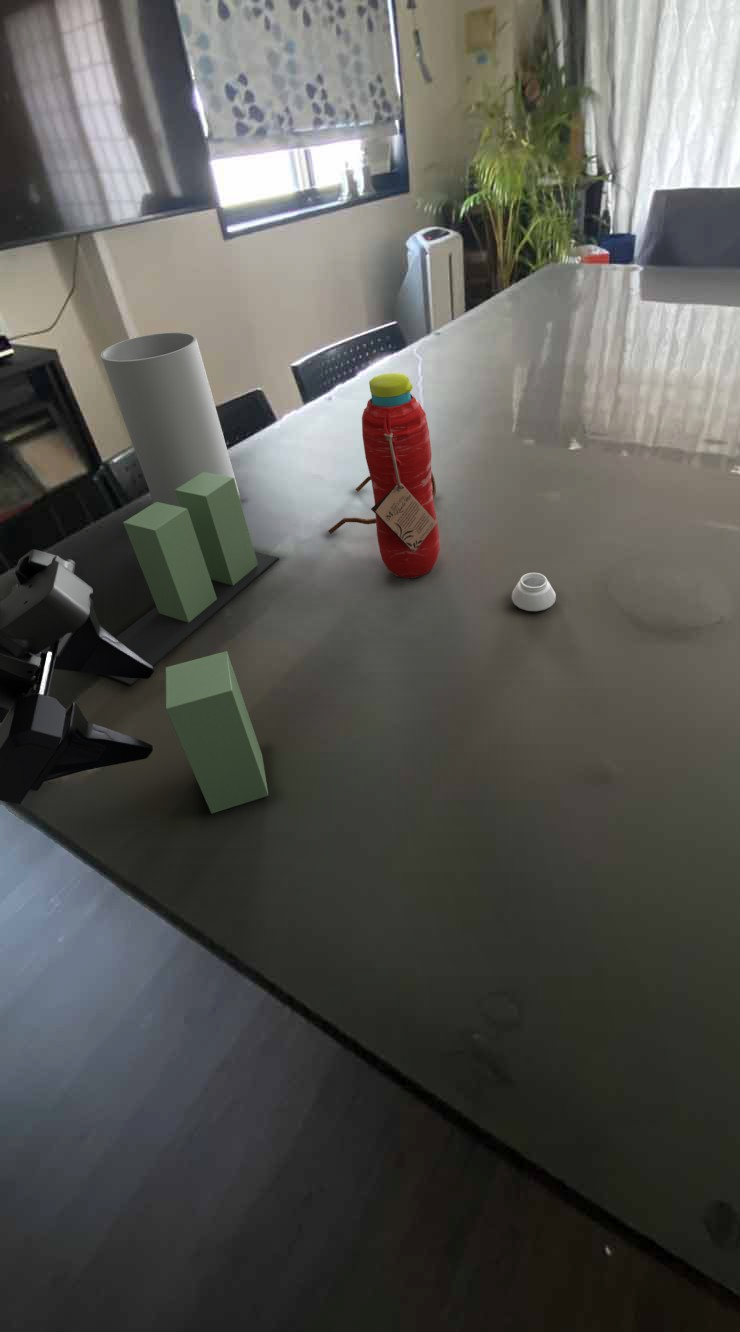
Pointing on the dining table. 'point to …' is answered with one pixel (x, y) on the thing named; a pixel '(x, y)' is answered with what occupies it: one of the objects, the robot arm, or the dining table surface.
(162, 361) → the cylinder vase
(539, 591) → the white jar
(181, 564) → the middle block
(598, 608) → the dining table surface
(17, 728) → the robot arm
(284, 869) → the dining table surface
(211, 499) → the far block
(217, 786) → the block
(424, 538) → the water bottle
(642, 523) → the dining table surface
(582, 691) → the dining table surface
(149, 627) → the mat
